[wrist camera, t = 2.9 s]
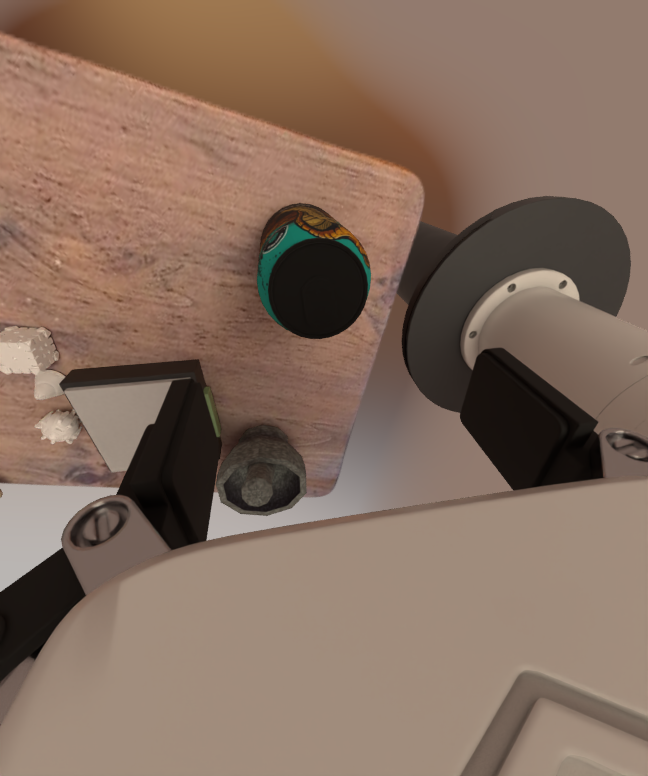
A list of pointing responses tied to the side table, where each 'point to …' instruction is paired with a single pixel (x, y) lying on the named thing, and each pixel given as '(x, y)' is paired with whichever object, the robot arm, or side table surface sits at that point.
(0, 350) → the game pieces
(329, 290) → the beverage can
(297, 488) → the mortar and pestle
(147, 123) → the side table surface
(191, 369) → the scale
